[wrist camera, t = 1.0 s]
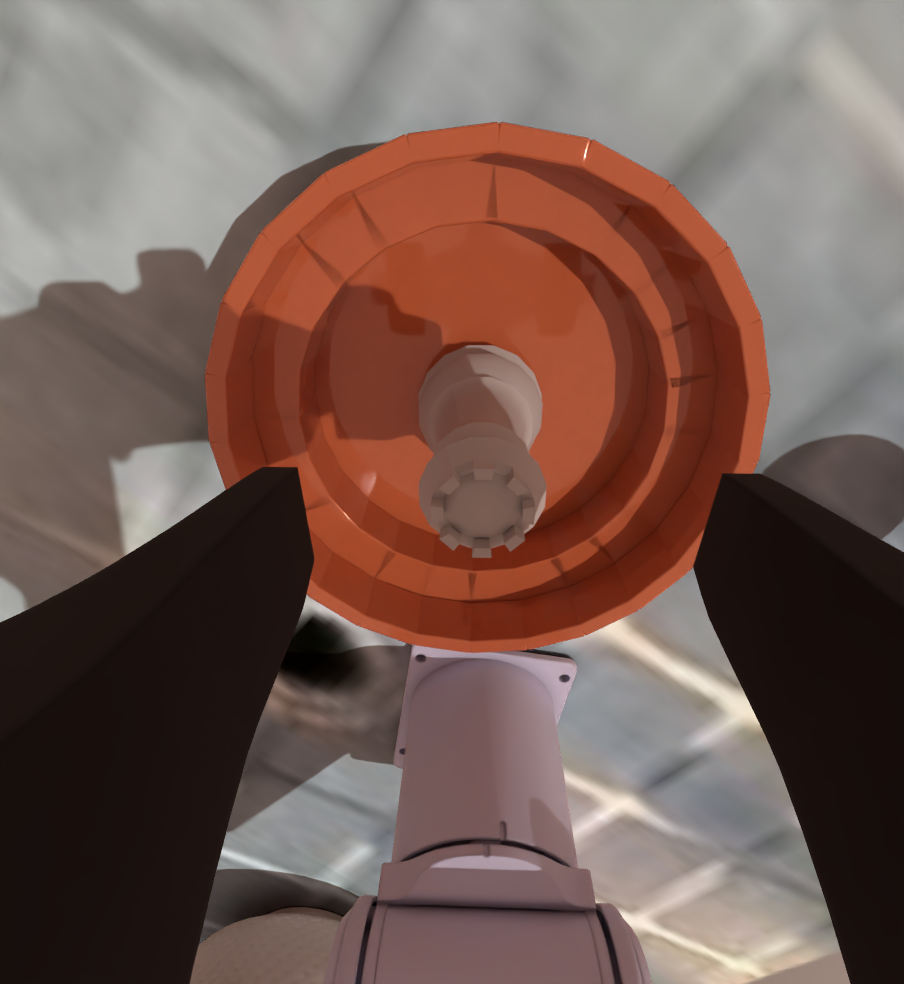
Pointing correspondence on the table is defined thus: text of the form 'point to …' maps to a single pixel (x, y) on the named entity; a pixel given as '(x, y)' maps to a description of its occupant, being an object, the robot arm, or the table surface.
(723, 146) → the table surface
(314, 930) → the cereal bowl
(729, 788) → the table surface
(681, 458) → the terracotta bowl
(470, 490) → the rook chess piece
